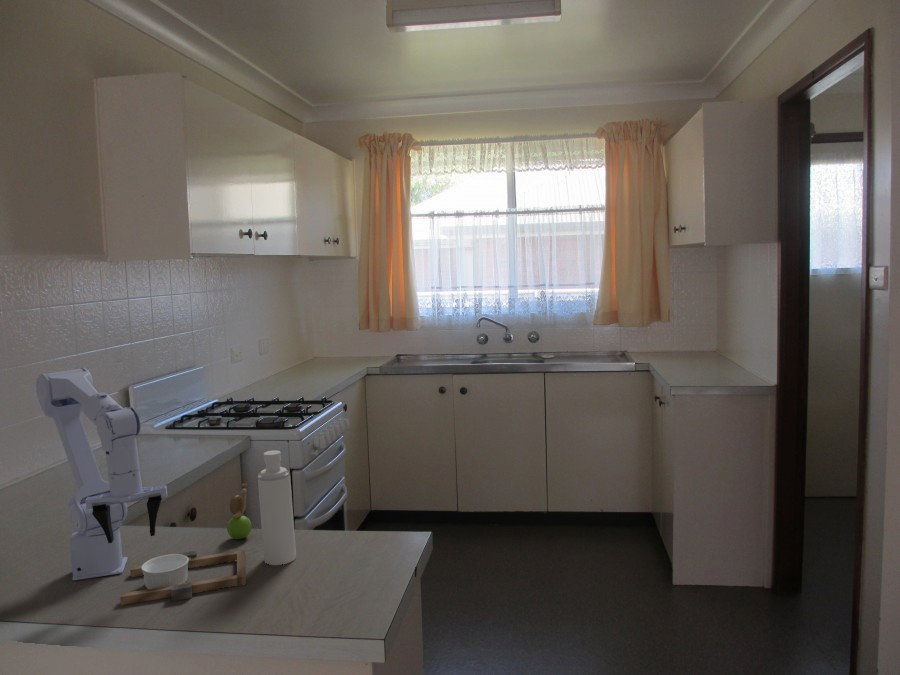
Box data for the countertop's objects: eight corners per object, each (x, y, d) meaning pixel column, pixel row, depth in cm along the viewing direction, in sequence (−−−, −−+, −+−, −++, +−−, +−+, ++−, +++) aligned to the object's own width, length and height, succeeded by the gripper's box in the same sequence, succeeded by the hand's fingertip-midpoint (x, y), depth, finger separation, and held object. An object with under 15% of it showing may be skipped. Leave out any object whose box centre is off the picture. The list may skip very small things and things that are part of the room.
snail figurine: (259, 532, 169) (255, 483, 168) (244, 543, 163) (240, 492, 162) (238, 531, 171) (234, 482, 170) (223, 542, 165) (219, 491, 163)
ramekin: (175, 569, 151) (173, 550, 151) (199, 580, 146) (197, 559, 145) (134, 586, 144) (132, 565, 144) (157, 597, 139) (155, 576, 138)
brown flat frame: (119, 610, 134) (118, 598, 134) (133, 570, 152) (132, 560, 151) (245, 589, 140) (244, 578, 140) (245, 553, 158) (244, 543, 158)
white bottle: (302, 555, 155) (294, 442, 152) (280, 567, 149) (271, 450, 147) (279, 550, 159) (271, 439, 156) (257, 562, 153) (248, 447, 150)
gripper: (79, 481, 135) (88, 551, 136) (161, 469, 139) (169, 537, 140) (86, 472, 142) (94, 539, 143) (164, 461, 146) (172, 526, 147)
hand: (132, 537), depth 142 cm, fingers open, 7 cm apart
